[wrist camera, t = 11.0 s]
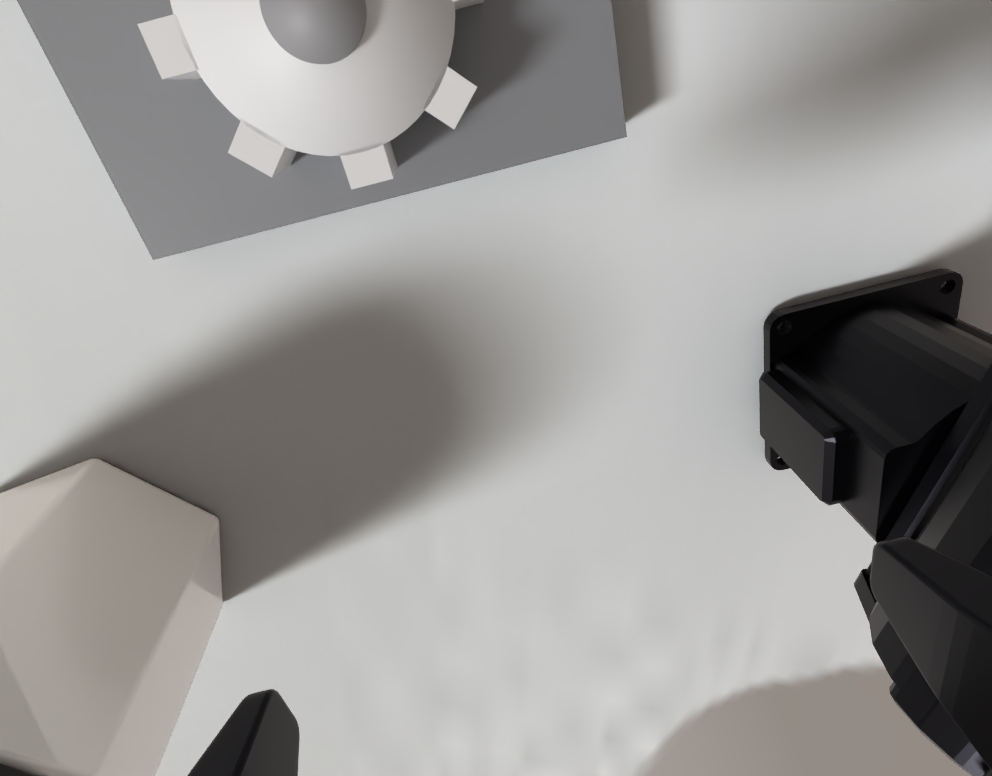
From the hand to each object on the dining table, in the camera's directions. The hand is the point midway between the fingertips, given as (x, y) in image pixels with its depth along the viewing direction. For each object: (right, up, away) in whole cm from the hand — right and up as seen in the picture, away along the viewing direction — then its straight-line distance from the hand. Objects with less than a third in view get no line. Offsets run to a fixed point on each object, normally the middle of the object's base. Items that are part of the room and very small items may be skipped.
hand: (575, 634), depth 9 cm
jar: (-16, -3, +14) cm, 21 cm away
